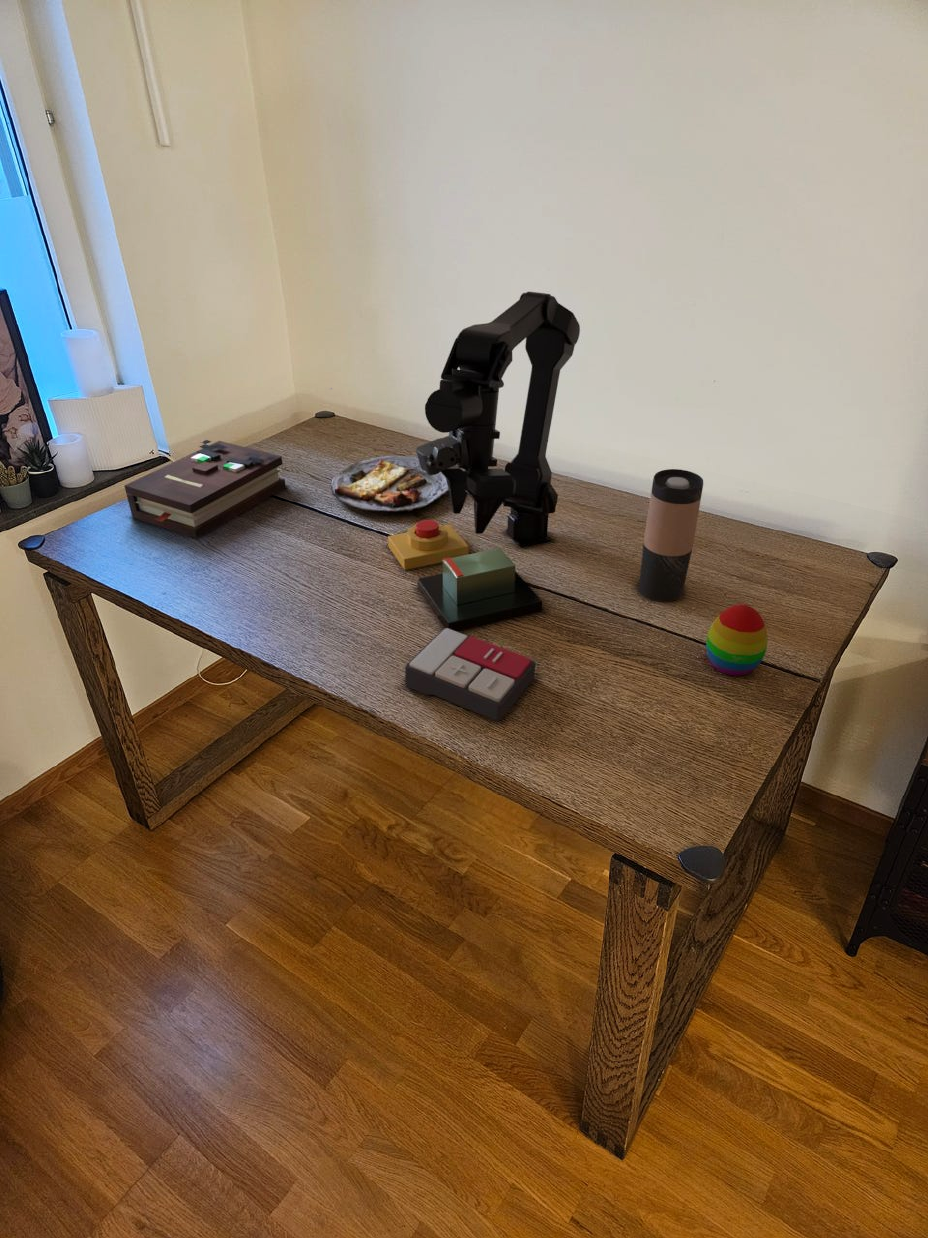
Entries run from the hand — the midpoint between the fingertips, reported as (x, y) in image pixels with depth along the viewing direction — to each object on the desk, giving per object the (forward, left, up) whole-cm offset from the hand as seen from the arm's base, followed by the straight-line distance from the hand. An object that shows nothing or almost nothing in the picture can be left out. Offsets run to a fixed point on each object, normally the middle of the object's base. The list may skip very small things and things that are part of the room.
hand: (467, 523), depth 124 cm
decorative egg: (-28, +31, -14) cm, 44 cm away
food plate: (-1, -43, -14) cm, 45 cm away
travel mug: (-30, +10, -14) cm, 35 cm away
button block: (+1, -17, -14) cm, 22 cm away
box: (-1, +1, -12) cm, 12 cm away
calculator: (+8, +20, -14) cm, 26 cm away
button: (+1, -17, -10) cm, 20 cm away
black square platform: (-1, +1, -14) cm, 14 cm away
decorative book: (+33, -52, -14) cm, 64 cm away
